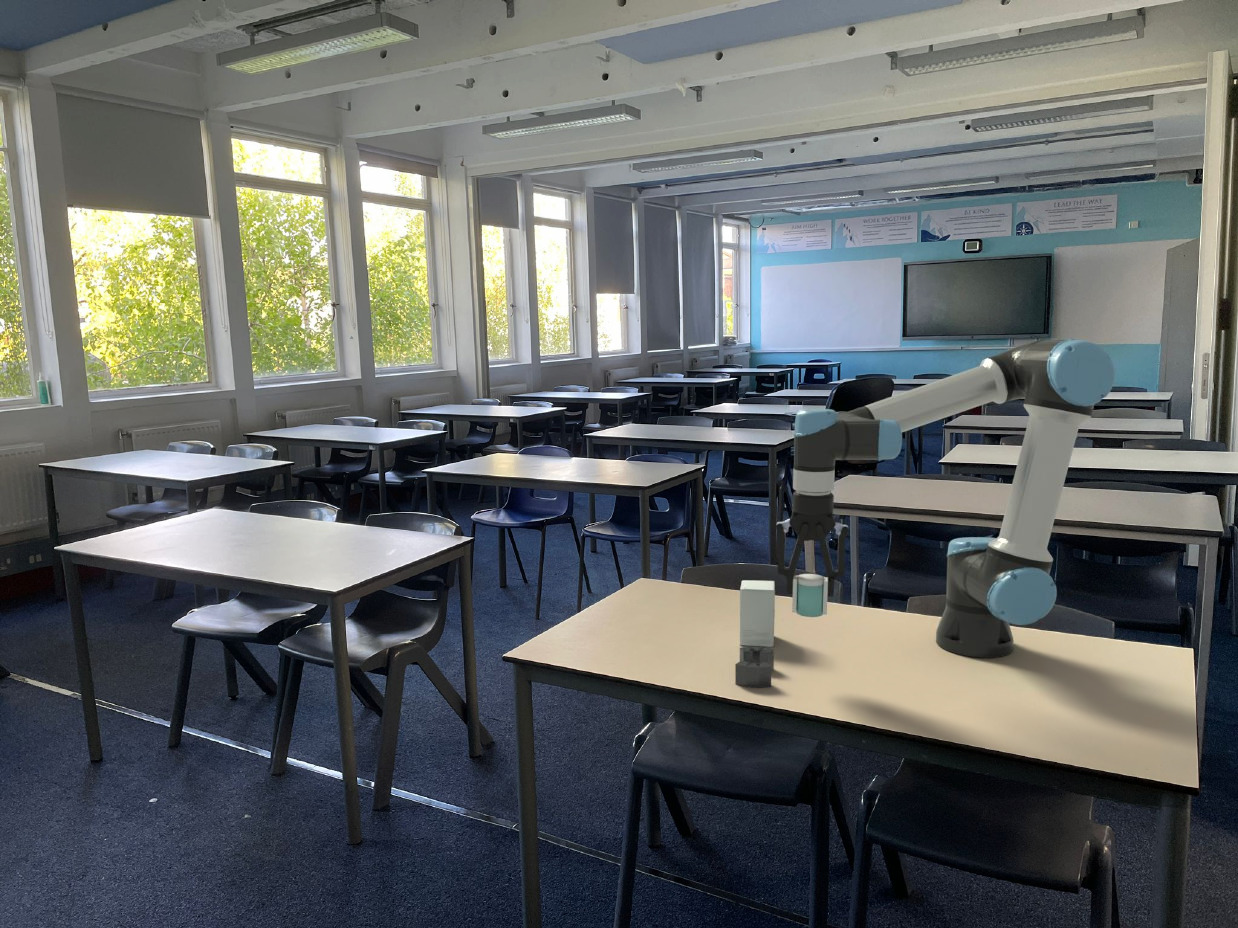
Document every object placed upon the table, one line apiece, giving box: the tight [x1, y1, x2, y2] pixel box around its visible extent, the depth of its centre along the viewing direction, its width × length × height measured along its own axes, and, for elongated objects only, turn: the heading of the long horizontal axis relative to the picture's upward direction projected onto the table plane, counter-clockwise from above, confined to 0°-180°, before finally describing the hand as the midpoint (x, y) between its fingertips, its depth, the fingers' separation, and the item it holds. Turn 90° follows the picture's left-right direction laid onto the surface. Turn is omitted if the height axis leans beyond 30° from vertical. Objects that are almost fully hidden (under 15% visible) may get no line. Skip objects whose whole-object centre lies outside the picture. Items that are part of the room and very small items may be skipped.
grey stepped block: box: [734, 646, 775, 689], centre depth 168 cm, size 7×11×4 cm, turn 167°
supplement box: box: [739, 579, 776, 648], centre depth 187 cm, size 7×7×13 cm
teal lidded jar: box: [796, 573, 825, 618], centre depth 164 cm, size 5×5×7 cm
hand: (809, 610), depth 165 cm, fingers closed on teal lidded jar, 5 cm apart
